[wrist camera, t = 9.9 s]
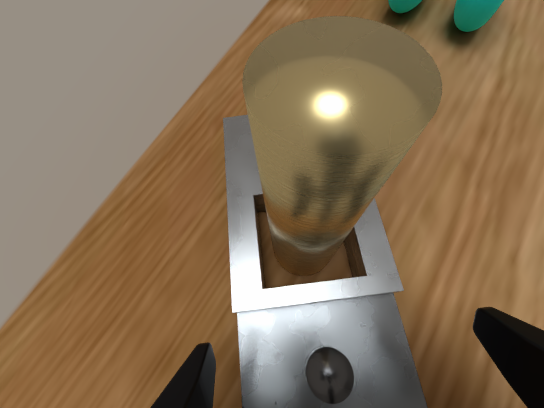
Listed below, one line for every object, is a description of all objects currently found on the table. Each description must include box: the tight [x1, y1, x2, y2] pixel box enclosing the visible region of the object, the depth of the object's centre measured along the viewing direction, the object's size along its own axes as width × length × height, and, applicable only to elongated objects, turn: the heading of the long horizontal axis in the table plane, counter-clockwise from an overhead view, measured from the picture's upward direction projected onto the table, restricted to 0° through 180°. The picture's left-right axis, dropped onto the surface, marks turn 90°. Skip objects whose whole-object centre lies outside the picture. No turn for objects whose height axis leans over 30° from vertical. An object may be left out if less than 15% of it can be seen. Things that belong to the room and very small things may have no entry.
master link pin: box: [243, 16, 442, 276], centre depth 12 cm, size 4×4×14 cm
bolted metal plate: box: [223, 115, 428, 408], centre depth 16 cm, size 24×10×4 cm, turn 7°
